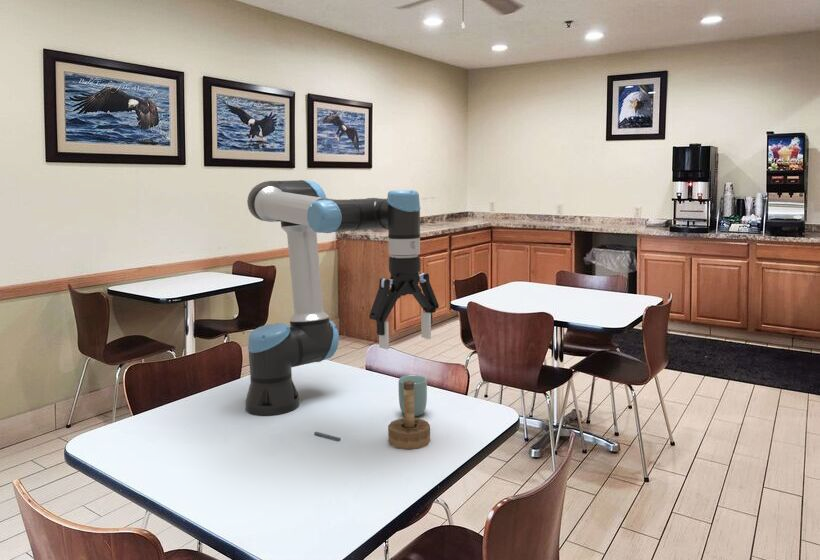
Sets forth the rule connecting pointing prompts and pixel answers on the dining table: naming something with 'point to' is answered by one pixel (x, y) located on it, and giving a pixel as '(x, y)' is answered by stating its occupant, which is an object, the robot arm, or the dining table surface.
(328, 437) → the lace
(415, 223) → the robot arm
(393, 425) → the bead
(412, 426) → the wooden rod
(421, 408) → the cup
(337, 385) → the dining table surface
